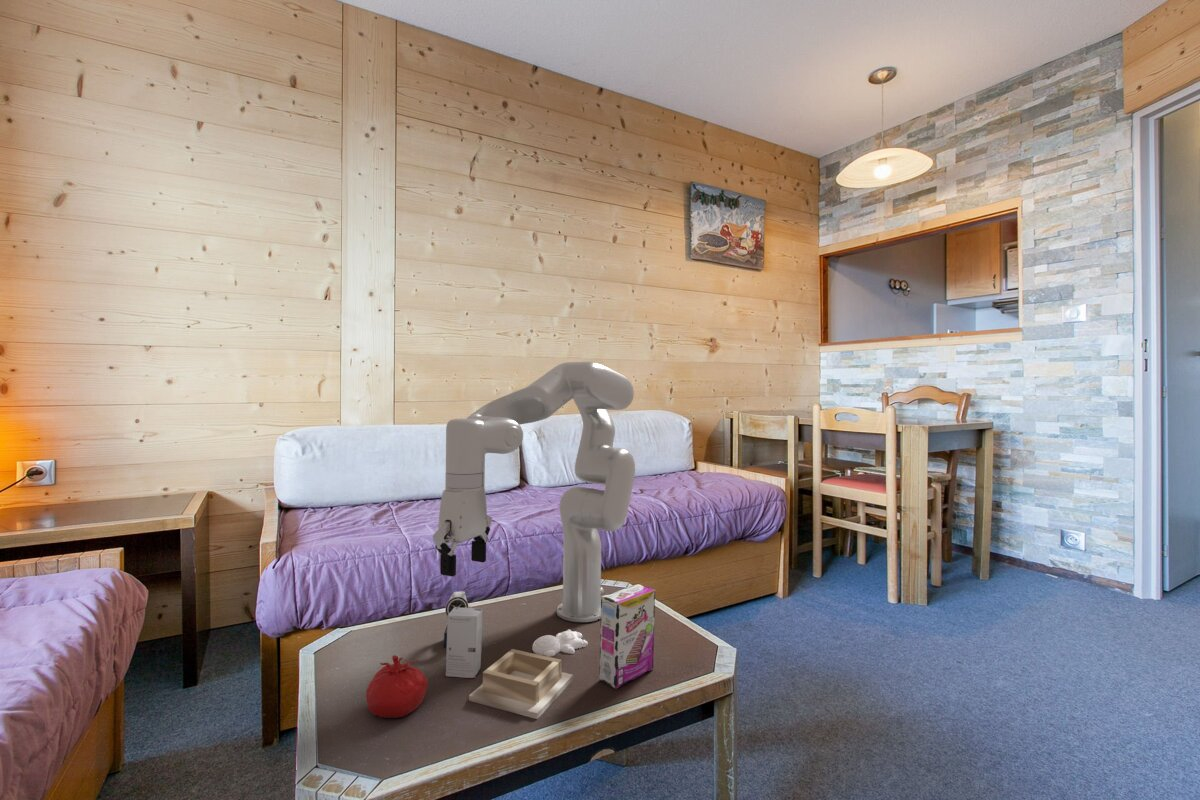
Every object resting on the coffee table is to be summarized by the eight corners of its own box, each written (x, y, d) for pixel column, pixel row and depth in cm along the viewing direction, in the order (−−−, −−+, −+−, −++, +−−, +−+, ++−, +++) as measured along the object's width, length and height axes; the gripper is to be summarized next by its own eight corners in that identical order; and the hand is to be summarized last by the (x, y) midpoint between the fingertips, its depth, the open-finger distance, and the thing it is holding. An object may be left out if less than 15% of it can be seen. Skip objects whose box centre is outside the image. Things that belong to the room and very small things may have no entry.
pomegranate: (404, 731, 90) (404, 675, 90) (353, 720, 93) (353, 666, 93) (438, 697, 100) (438, 647, 99) (390, 688, 102) (390, 639, 102)
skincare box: (445, 677, 107) (445, 615, 107) (452, 665, 111) (452, 606, 111) (476, 678, 106) (476, 616, 106) (482, 667, 111) (482, 607, 111)
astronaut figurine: (590, 653, 118) (591, 639, 118) (535, 660, 115) (535, 646, 115) (581, 635, 126) (581, 622, 126) (529, 641, 123) (529, 628, 123)
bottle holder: (510, 665, 112) (511, 643, 112) (573, 679, 106) (573, 656, 106) (469, 700, 99) (469, 675, 99) (537, 719, 93) (537, 693, 93)
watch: (442, 651, 117) (443, 600, 117) (448, 635, 125) (448, 587, 125) (469, 650, 118) (469, 599, 118) (473, 634, 126) (473, 586, 126)
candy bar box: (617, 690, 103) (617, 603, 102) (598, 680, 106) (599, 596, 106) (655, 670, 110) (656, 588, 110) (636, 661, 114) (637, 582, 114)
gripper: (475, 474, 118) (474, 554, 118) (419, 486, 102) (418, 578, 102) (505, 477, 115) (504, 558, 115) (452, 489, 99) (451, 584, 99)
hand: (463, 567), depth 108 cm, fingers open, 9 cm apart
